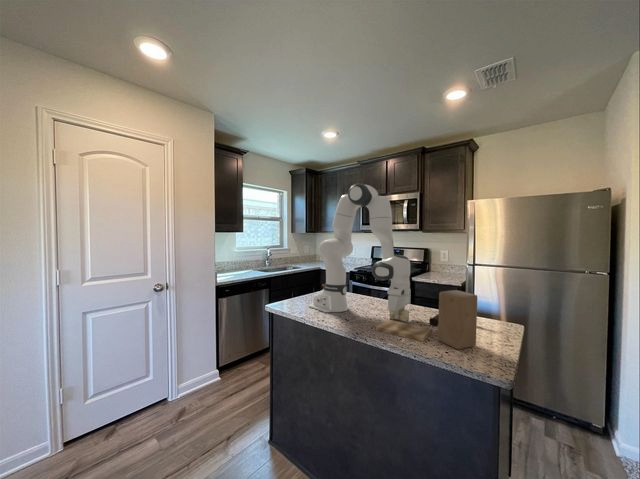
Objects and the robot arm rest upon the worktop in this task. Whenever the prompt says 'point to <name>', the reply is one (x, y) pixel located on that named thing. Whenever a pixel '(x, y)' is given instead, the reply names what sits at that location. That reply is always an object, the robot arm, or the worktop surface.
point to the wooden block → (457, 319)
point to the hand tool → (434, 320)
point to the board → (404, 330)
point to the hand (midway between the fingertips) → (399, 316)
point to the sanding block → (400, 316)
